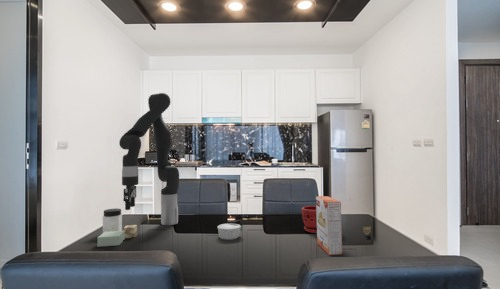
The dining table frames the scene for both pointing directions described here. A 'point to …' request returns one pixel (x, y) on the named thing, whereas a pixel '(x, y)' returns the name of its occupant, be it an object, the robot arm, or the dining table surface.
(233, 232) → the ramekin
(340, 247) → the cracker box
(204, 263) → the dining table surface
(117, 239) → the pedestal
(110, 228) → the jar
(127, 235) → the maple cube
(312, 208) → the plant pot
